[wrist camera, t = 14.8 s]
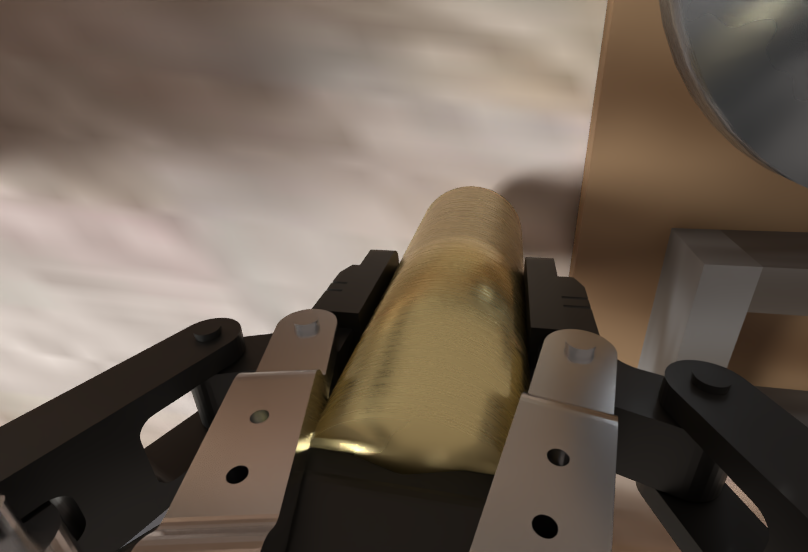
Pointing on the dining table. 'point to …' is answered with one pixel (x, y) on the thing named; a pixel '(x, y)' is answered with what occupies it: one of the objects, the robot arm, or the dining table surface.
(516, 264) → the gold metallic cylinder
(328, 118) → the dining table surface
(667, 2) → the handwheel
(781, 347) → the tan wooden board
